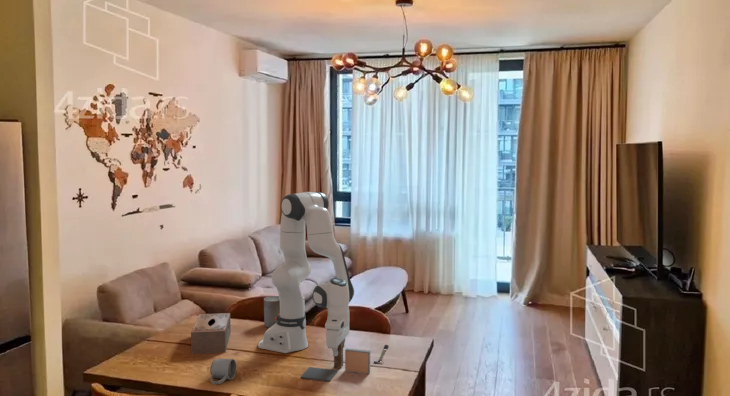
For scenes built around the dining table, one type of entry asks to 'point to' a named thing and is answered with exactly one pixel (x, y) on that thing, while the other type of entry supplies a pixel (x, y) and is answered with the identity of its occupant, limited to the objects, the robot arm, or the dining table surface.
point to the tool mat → (319, 374)
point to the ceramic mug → (222, 370)
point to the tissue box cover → (210, 333)
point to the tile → (357, 361)
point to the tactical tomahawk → (382, 354)
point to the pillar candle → (271, 310)
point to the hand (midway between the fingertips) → (338, 351)
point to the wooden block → (339, 357)
